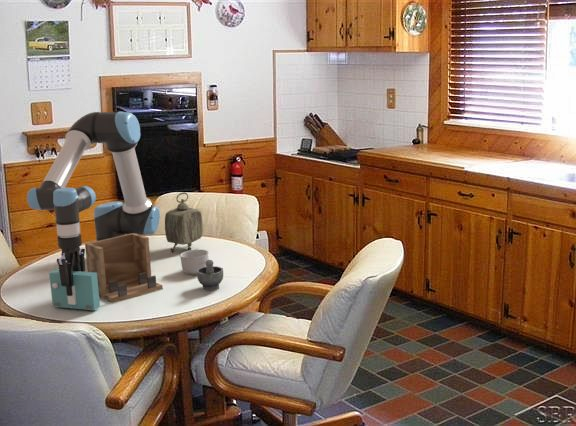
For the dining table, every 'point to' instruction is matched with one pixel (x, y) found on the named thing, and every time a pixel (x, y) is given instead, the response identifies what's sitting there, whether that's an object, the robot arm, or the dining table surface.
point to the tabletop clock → (183, 224)
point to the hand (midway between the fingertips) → (75, 301)
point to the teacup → (193, 260)
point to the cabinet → (121, 267)
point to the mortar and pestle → (210, 276)
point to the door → (76, 290)
